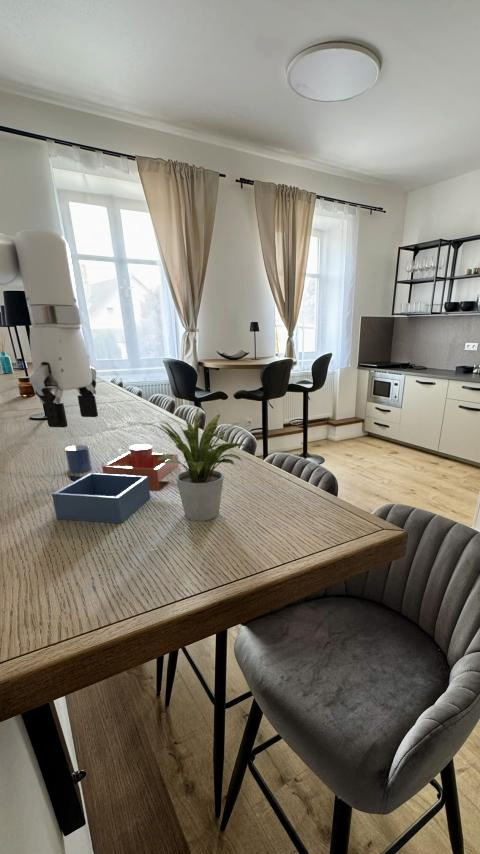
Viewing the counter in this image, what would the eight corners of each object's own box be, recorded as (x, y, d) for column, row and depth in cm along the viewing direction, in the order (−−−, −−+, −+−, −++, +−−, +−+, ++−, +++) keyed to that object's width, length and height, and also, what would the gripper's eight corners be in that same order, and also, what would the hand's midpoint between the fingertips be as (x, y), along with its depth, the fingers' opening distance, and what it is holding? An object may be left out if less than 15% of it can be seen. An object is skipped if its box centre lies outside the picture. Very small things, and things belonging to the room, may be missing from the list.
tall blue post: (65, 481, 77) (60, 450, 75) (78, 474, 81) (73, 444, 79) (85, 482, 77) (80, 451, 74) (97, 475, 80) (92, 445, 78)
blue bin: (56, 518, 61) (51, 493, 60) (93, 495, 71) (90, 472, 69) (121, 523, 60) (118, 498, 59) (150, 498, 70) (148, 476, 68)
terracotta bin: (105, 487, 74) (101, 466, 73) (130, 470, 84) (128, 451, 82) (159, 490, 73) (157, 469, 72) (179, 473, 83) (177, 454, 81)
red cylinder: (129, 480, 77) (125, 449, 74) (138, 474, 80) (135, 443, 78) (149, 481, 76) (146, 450, 74) (158, 475, 80) (155, 444, 78)
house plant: (161, 546, 54) (149, 422, 48) (137, 509, 65) (125, 405, 59) (258, 524, 61) (257, 413, 55) (221, 494, 72) (217, 399, 66)
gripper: (66, 321, 77) (82, 413, 83) (-4, 316, 61) (22, 431, 67) (104, 320, 76) (117, 413, 82) (42, 316, 60) (65, 432, 66)
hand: (74, 421), depth 75 cm, fingers open, 9 cm apart
